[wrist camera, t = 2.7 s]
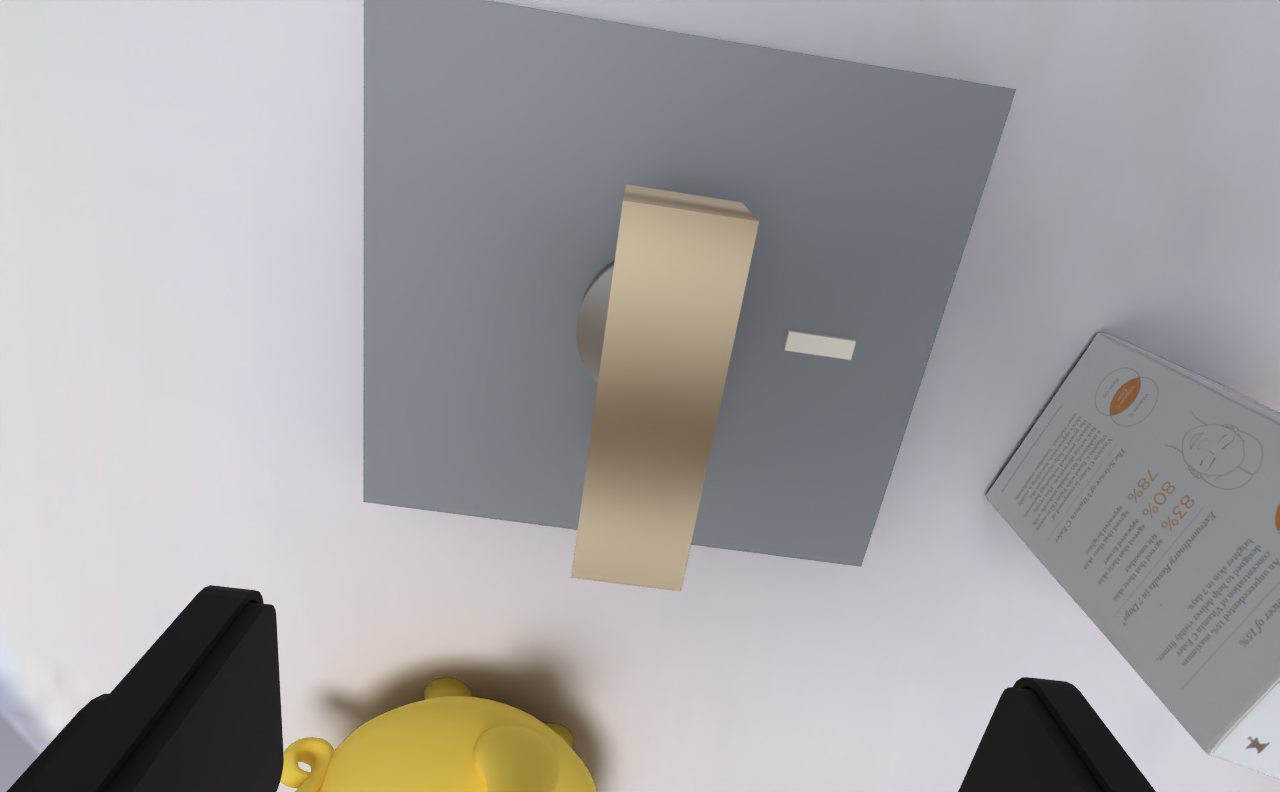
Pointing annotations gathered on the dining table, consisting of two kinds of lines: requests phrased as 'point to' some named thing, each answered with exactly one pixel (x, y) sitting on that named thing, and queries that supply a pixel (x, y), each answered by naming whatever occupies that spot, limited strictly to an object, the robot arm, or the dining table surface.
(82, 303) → the dining table surface
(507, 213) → the plate
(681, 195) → the t key
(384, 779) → the teapot
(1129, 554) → the small box
